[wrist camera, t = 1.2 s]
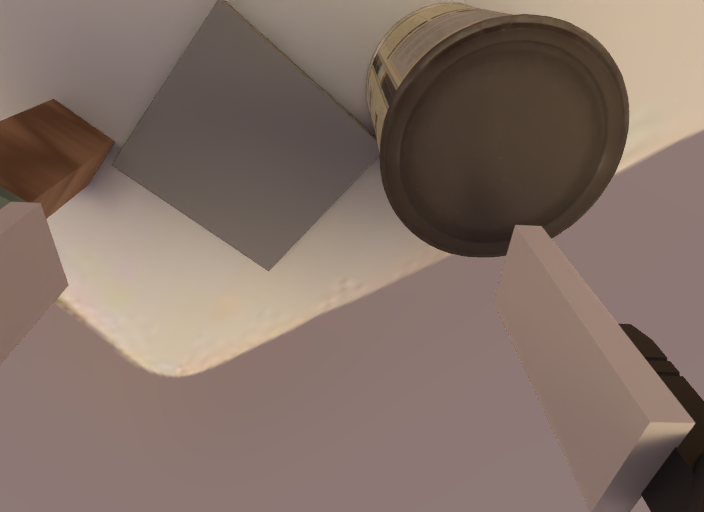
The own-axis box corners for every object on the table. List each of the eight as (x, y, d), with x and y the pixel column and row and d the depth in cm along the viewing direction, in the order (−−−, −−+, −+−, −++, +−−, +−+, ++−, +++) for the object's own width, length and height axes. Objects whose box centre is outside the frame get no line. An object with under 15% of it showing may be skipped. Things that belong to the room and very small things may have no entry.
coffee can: (540, 104, 32) (662, 180, 20) (414, 184, 35) (453, 293, 23) (472, -39, 27) (577, -54, 15) (335, 67, 30) (330, 126, 18)
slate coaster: (116, 161, 33) (111, 165, 32) (222, -2, 28) (218, -2, 27) (270, 266, 38) (268, 271, 38) (384, 145, 33) (385, 148, 32)
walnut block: (27, 147, 33) (-100, 215, 23) (53, 99, 31) (-73, 151, 21) (87, 185, 34) (-10, 263, 25) (114, 141, 32) (22, 208, 23)
